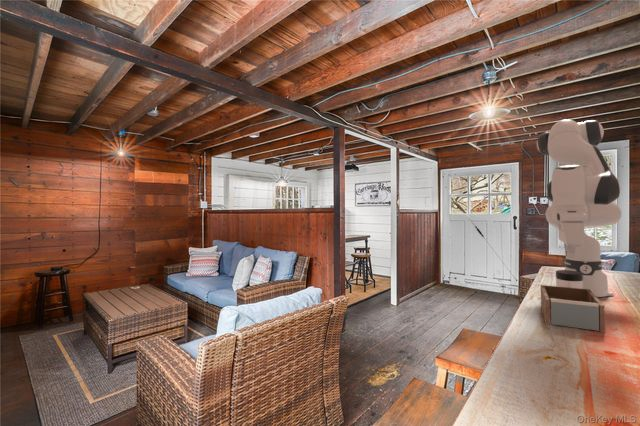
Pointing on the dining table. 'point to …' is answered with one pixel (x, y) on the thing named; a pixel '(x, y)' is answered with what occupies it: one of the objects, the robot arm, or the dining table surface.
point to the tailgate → (575, 314)
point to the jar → (569, 279)
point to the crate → (569, 294)
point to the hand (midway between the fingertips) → (569, 257)
